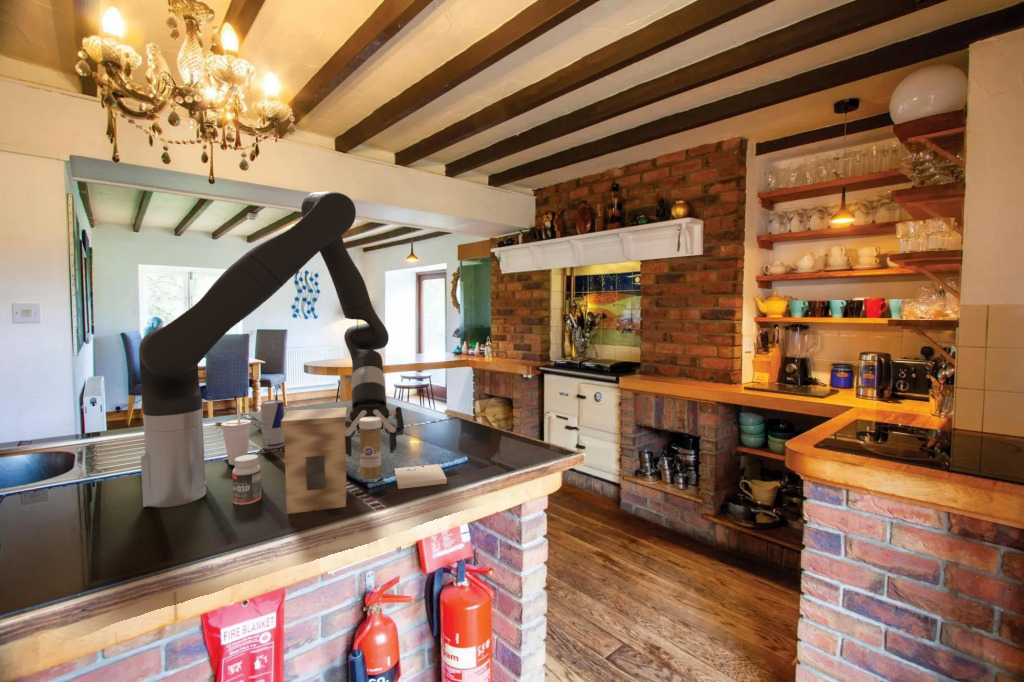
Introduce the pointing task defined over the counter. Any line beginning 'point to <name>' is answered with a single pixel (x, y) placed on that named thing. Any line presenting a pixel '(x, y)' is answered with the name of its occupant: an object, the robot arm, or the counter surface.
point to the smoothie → (236, 437)
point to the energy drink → (272, 424)
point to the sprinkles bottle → (370, 447)
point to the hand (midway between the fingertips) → (371, 453)
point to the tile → (420, 476)
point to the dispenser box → (315, 459)
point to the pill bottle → (246, 480)
